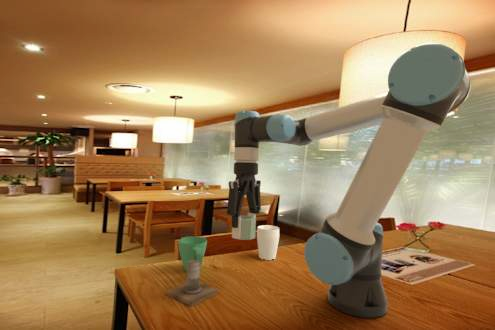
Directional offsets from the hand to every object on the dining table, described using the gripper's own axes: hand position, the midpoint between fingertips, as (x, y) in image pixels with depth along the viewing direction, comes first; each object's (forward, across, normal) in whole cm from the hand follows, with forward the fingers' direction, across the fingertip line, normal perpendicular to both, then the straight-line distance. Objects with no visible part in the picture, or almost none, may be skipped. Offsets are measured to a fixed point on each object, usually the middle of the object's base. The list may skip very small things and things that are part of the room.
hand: (244, 235), depth 90 cm
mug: (+15, +3, -18) cm, 24 cm away
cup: (+15, -26, -8) cm, 31 cm away
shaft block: (+15, +15, -6) cm, 22 cm away
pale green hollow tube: (0, 0, 0) cm, 0 cm away
